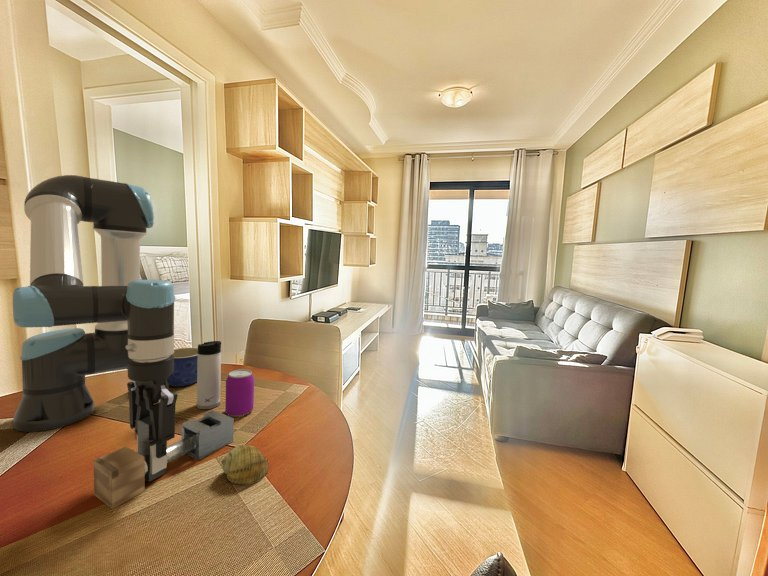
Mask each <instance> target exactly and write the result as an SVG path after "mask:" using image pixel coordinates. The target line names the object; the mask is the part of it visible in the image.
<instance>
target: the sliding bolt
mask: <svg viewBox="0 0 768 576" xmlns="http://www.w3.org/2000/svg"><path fill="white" fill-rule="evenodd" d="M152 441H153V437H152V428H151V420H150V415H148V416H146V417H143V418H140V419H138V453H139V454H140V455H142V456H144V467H145V482H148V483H150V482H152V481H154V480H155V479H157V478H159V477H161V476H163V475H164V474H166V473H167V467H166V468H164V469H162V470H161V471H159V472H157V473H155V474H153V475H152V474H150V445H149V442H152ZM195 448H196V435H194V434H192V435H190V436H188V437H186V438H184V439H182V440H181V439H180V440H177V441H176V442H173V443H171V444H169V445H167V464H168V463H170V462H172V461H174V460H177V459H178V458H180V457H182V456H184V455H185V454H186V453H188V452H190V451H192V450H193V449H195ZM186 455H187V454H186Z"/></svg>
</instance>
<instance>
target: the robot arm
mask: <svg viewBox="0 0 768 576" xmlns="http://www.w3.org/2000/svg"><path fill="white" fill-rule="evenodd" d="M23 204H24V207H23V209H24V214H25V216H26V217H27V218H28V220H30V243H29V244H30V254H29V256H30V259H29V263H30V265H29V269H30V270H29V285H28V286H19V287H16V288H15V289H13V291H12V292H13V293H12V317H13V322H14V324H15V326H17V327H20V328H53V327H59V326H72V325H74V326H75V325H82V324H83V325H84V324H85V325H87V324H94V323H95V324H96V325H95V326H94V332H89V333H87V332H86V331H85V330H84V329H83V328H80V327H79V328H78V327H74V328H62V329H56V330H52V331H51V330H50V331H46V332H42V333H38V334H35V335H33V336H30V337H28V338H26V339H25V340H24V341H23V342H22V344H21V352H20V353H21V356H20V357H19V358H20V360H21V375H22V379H21V380H22V381H21V382H22V395H21V396H22V397H21V399H20V402H19V404H18V406H17V408H16V411H15V413H14V416H13V419H12V422H13V423H12V425H13V426H12V427H13V428H14V430H15V431H17V432H27V433H29V432H32V433H34V432H42V431H43V432H44V431H49V430H54V429H57V428H61V427H65V426H68V425H71V424H74V423H77V422H79V421H82V420H83V419H85V418H88V417H89V416H91V415H92V414H93V413H94V412H95V400H94V398H93V396H92V395H91V393H90V391H89V388H88V386H87V385H86V384H87V383H86V376H89V375H96V374H101V373H102V374H104V373H108V372H115V371H121V370H127V378H128V379H129V380H130V381H129V382H127V383H126V386H127V390H128V391H127V392H128V406H129V409H128V410H129V428H130V429H131V430H133V429H134V433H135V435H136V452H137V453H138V419H140V418H143V417H146V416H148V415H150V420H151V428H152V437H153V441H152V442H149V445H150V474H152V475H153V474H155V473H157V472H159V471H161V470H162V469H164V468H166V469H167V467H168V466H167V465H168V463H167V446H168V445H167V444H168V441H170V440H172V439H174V438H175V437H176V436H175V435H176V427H175V426H176V403H177V399H178V392H176V391H175V392H171V391H169V385H168V383H167V378H168V377H169V376H170V375H171V374H172V373H173V372H174V357H173V356H172V354H173V353H174V349H175V328H174V327H175V300H176V296H175V291H174V284H173V282H171V281H170V280H163V279H141V278H140V277H141V263H140V262H141V239H142V238H144V236H146V235H147V229H151V228H153V227H154V219H155V217H154V209H153V208H154V207H153V203H152V198H151V196H150V194H149V192H148V191H147V190H146V188H144V187H142V186H138V185H133V184H129V183H125V182H119V181H112V180H106V179H99V178H92V177H86V176H83V175H77V174H76V175H75V174H74V175H72V174H64V175H57V176H54V177H50V178H48V179H46V180H43V181H41V182H40V183H38V184H36V185H35V186H34V187H32V188H31V189H30V190H29V192H28V193H27V195H26V197H25V199H24V203H23ZM81 222H85V223H86V222H87V223H93V230H94V232H96V233H97V234H98V235H100V239H101V240H100V252H101V253H100V255H101V256H100V257H101V258H100V259H101V260H100V261H101V262H100V263H101V267H100V268H101V273H100V274H101V285H84V279H83V278H84V277H83V276H84V275H83V267H82V266H83V265H82V258H81V257H82V256H81V248H80V247H81V246H80V237H79V228H78V227H79V225H78V224H80V223H81Z"/></svg>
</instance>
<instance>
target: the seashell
mask: <svg viewBox="0 0 768 576" xmlns="http://www.w3.org/2000/svg"><path fill="white" fill-rule="evenodd" d="M268 462H269V460H268V459H267V458H265V457H264V455H263V453H262V452H261V450H260V449H258V447H256V446H255V445H254V446H253V445H251V444H239V445H237V446H235V447H234V448H232V449H230V450H229V452H228V454H226V456H225V457H224V458H223V459H222V460H221V464H222V469H223V472H224V473H225V474H226V479H227V480H228V481H229V482H231V484H233V485H234V484H235V485H240V486H249V485H253V484H255V483H257V482H260V481H262V480H263V479H264V478H265V477H266V476H267V474H268V471H269V470H268V469H269V468H268V467H269V466H268Z"/></svg>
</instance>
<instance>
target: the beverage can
mask: <svg viewBox="0 0 768 576" xmlns="http://www.w3.org/2000/svg"><path fill="white" fill-rule="evenodd" d="M254 397H255V378H254V374H253V372H252V370H250V369H243V368H241V369H236V370H231V371H230V372H229V373H228V375H227V377H226V380H225V414H226V415H227V416H229V415H230V416H229V417H232V416H234V417H233V418H238V416H241V417H243V415H245V416H246V414H247V415H248V413H249V412H250V413H251V412H252V411H253V409H254V403H255V399H254ZM250 413H249V414H250Z"/></svg>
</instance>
